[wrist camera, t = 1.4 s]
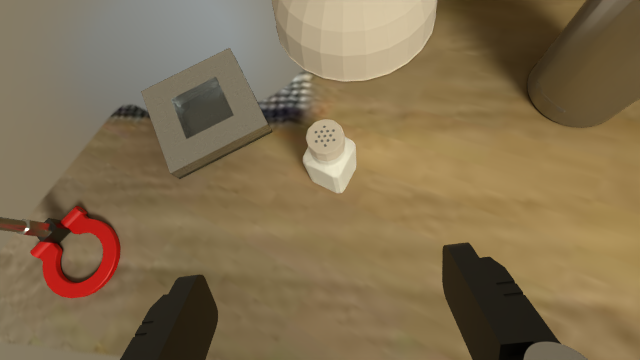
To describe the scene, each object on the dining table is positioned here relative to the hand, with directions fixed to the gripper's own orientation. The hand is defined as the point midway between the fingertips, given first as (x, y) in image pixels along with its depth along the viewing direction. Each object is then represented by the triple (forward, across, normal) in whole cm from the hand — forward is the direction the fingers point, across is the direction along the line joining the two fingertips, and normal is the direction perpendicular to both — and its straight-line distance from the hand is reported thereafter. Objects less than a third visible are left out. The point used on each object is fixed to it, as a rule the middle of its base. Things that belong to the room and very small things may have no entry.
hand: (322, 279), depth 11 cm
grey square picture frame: (+31, +14, +1) cm, 34 cm away
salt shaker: (+24, 0, +8) cm, 26 cm away
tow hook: (+21, +29, +12) cm, 38 cm away
